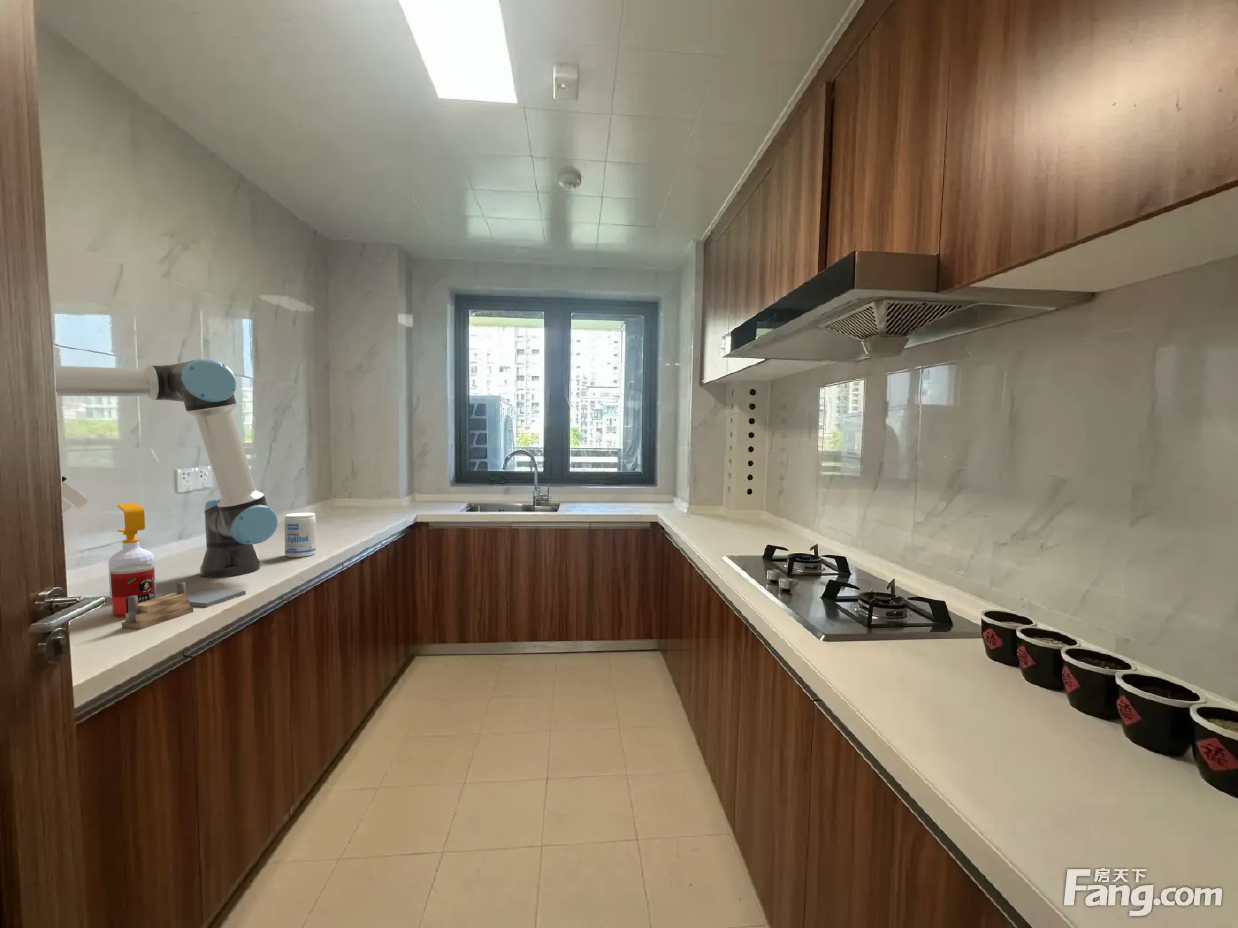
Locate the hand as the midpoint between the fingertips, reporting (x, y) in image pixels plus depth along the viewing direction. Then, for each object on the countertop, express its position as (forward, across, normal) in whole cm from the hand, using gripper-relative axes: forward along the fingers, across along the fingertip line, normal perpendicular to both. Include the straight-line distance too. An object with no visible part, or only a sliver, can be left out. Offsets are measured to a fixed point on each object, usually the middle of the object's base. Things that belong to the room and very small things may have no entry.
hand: (76, 507), depth 122 cm
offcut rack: (+29, +10, -6) cm, 32 cm away
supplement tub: (+50, -49, +18) cm, 72 cm away
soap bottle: (+24, -18, -13) cm, 32 cm away
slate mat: (+35, -3, 0) cm, 35 cm away
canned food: (+26, 0, -11) cm, 28 cm away
